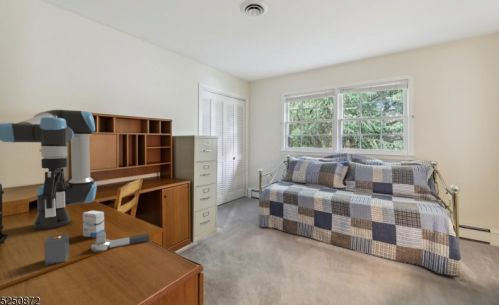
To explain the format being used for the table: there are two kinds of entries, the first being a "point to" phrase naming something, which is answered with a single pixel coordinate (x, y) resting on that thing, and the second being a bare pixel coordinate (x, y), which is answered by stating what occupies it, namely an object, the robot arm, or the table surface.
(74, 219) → the table surface
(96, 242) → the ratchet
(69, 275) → the table surface
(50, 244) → the cube with brass button
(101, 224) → the ink box
